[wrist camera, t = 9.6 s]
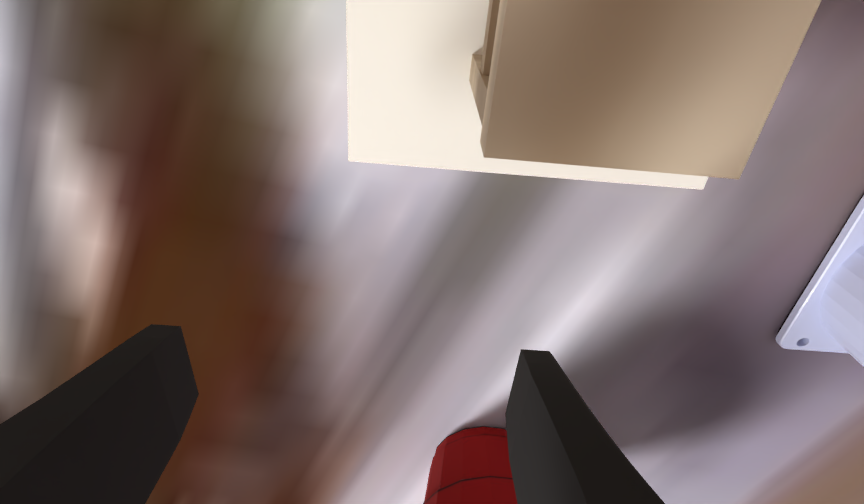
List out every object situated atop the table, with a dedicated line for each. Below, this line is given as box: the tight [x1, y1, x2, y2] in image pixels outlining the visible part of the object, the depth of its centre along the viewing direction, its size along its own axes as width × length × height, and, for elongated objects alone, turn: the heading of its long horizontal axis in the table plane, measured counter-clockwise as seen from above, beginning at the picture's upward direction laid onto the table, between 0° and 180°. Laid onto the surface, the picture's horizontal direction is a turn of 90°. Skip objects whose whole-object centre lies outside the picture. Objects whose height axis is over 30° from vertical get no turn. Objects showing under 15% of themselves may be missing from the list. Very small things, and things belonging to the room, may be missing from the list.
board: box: [346, 0, 708, 190], centre depth 14 cm, size 13×11×1 cm
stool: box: [469, 0, 821, 179], centre depth 11 cm, size 5×5×7 cm
